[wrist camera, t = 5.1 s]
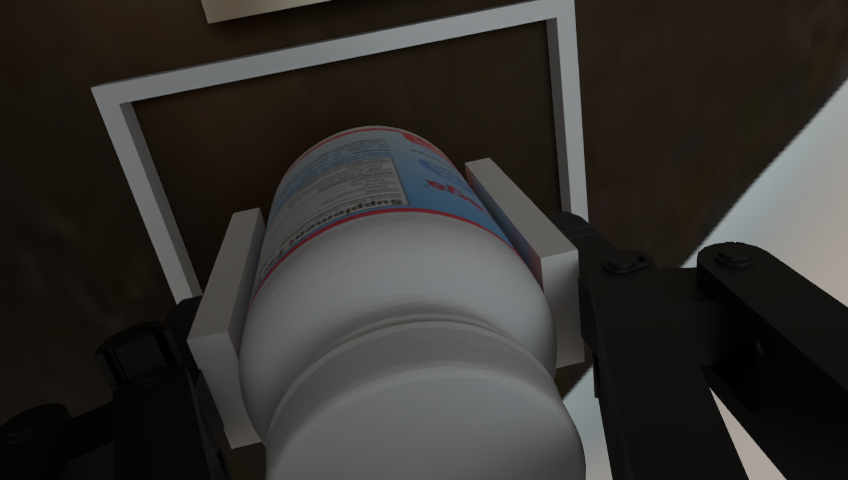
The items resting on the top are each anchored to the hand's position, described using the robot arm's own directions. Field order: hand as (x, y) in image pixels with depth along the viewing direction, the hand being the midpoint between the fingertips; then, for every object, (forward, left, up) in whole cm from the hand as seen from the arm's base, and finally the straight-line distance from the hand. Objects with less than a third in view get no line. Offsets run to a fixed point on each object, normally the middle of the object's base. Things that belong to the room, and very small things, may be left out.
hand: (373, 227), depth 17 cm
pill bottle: (0, 0, -1) cm, 1 cm away
